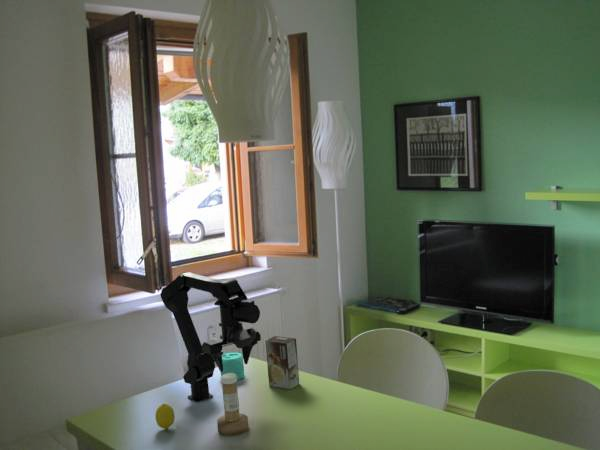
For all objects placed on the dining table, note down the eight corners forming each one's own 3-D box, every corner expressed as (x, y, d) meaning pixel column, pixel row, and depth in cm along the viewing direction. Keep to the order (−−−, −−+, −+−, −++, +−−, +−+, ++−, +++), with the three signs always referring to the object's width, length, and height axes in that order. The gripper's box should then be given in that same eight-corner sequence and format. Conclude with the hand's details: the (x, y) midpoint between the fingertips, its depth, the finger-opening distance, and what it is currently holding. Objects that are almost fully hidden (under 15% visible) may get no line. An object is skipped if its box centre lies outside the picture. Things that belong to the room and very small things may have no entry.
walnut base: (212, 429, 198) (211, 419, 197) (237, 420, 203) (236, 410, 203) (228, 438, 191) (227, 428, 190) (254, 428, 196) (253, 419, 196)
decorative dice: (244, 379, 237) (243, 358, 236) (222, 382, 236) (220, 360, 235) (242, 372, 245) (240, 351, 244) (220, 375, 244) (218, 353, 243)
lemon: (171, 433, 197) (168, 407, 196) (153, 433, 198) (151, 407, 197) (178, 425, 202) (176, 400, 201) (161, 425, 203) (158, 399, 202)
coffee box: (300, 383, 230) (297, 338, 228) (290, 389, 225) (287, 343, 223) (278, 379, 235) (274, 335, 233) (267, 386, 230) (264, 340, 228)
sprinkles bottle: (240, 415, 199) (236, 371, 198) (240, 421, 195) (236, 377, 193) (224, 417, 199) (220, 373, 197) (224, 423, 194) (220, 378, 193)
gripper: (218, 331, 198) (222, 382, 200) (269, 317, 209) (272, 365, 211) (199, 324, 206) (203, 373, 208) (249, 311, 218) (252, 358, 220)
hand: (233, 367), depth 212 cm, fingers open, 9 cm apart
